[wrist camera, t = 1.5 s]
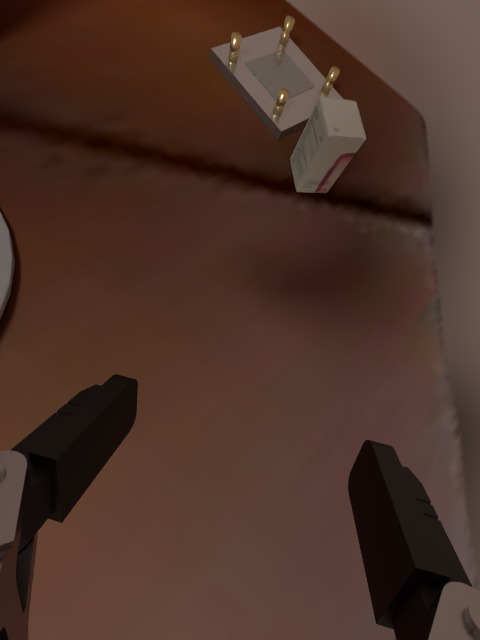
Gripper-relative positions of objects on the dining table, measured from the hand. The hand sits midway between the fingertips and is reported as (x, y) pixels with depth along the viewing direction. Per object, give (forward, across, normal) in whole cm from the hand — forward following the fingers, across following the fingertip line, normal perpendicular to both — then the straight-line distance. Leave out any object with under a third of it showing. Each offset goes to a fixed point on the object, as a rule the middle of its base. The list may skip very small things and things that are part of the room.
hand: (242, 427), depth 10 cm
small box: (+32, -1, -12) cm, 34 cm away
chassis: (+39, +6, -22) cm, 45 cm away
